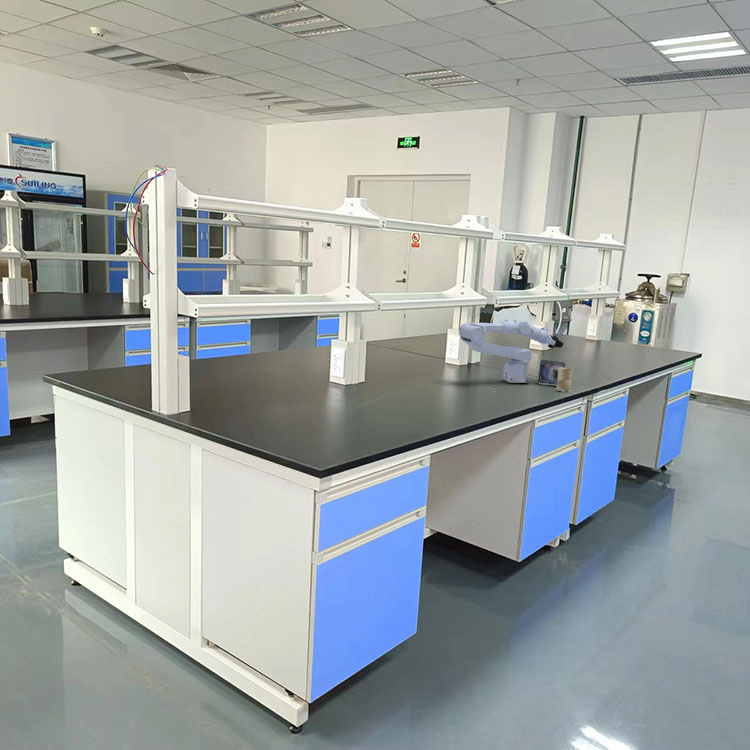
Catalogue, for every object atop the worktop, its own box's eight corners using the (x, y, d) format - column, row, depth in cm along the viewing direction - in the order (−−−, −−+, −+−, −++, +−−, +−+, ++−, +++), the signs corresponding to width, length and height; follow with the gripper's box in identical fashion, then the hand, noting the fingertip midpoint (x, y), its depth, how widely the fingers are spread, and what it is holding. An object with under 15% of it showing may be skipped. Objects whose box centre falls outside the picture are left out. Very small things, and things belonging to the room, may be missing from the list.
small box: (537, 385, 286) (540, 361, 284) (538, 382, 292) (540, 359, 290) (562, 387, 283) (565, 364, 281) (562, 385, 289) (565, 362, 287)
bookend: (559, 392, 273) (562, 368, 271) (555, 390, 276) (558, 367, 274) (572, 392, 274) (575, 369, 272) (568, 391, 277) (571, 367, 275)
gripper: (548, 331, 280) (571, 340, 286) (530, 320, 293) (552, 328, 299) (541, 345, 282) (563, 354, 288) (523, 334, 294) (545, 342, 301)
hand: (557, 342), depth 294 cm, fingers open, 7 cm apart
